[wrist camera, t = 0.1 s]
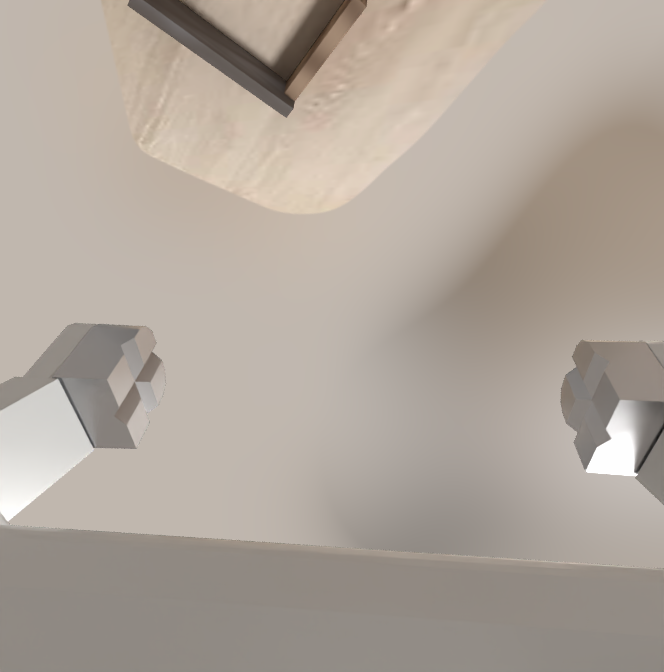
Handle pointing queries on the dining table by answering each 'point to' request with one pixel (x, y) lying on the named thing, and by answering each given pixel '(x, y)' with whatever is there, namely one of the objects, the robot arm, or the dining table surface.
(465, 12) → the dining table surface
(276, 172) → the dining table surface
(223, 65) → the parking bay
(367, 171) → the dining table surface
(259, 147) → the dining table surface
